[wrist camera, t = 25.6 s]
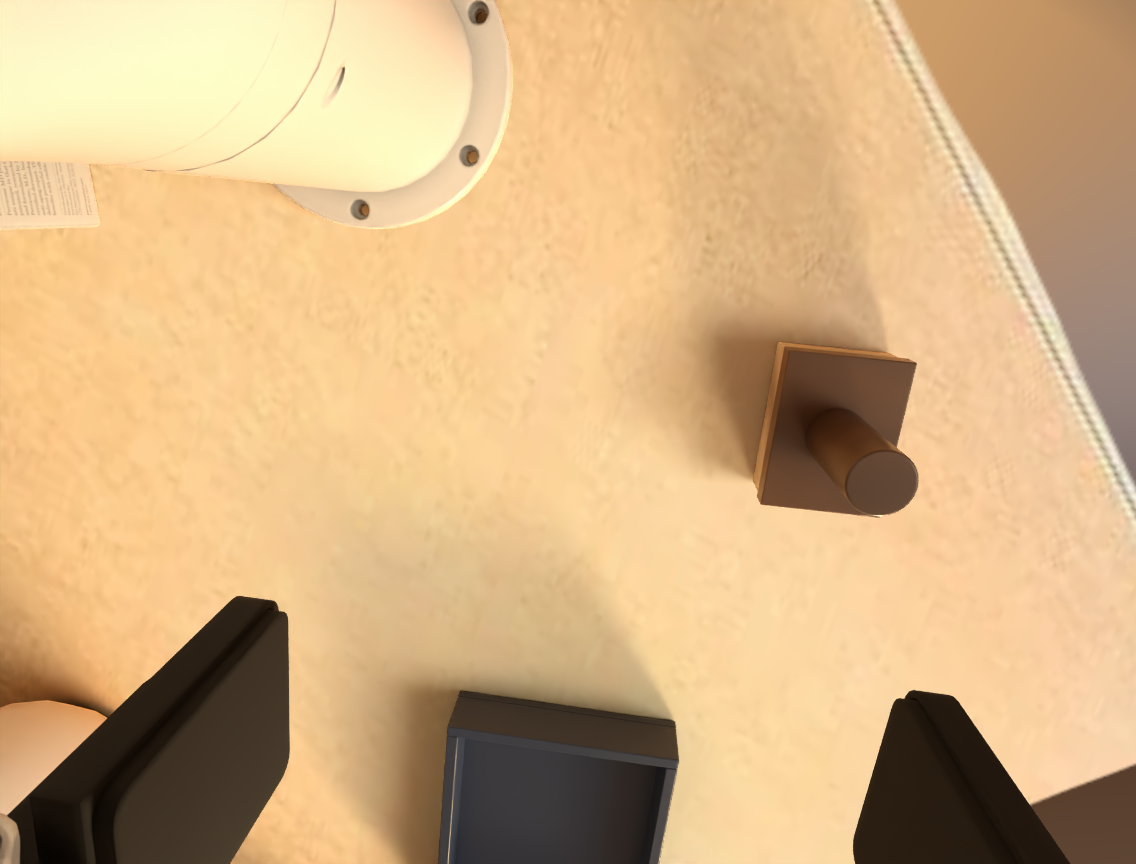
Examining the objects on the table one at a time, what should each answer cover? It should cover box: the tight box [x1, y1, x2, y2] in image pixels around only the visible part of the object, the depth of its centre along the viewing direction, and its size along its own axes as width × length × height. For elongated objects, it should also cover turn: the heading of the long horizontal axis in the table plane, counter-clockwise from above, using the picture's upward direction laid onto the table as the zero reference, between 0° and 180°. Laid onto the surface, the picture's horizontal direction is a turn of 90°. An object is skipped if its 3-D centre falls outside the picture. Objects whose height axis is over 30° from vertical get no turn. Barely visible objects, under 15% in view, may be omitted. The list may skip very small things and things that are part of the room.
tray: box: [438, 691, 679, 864], centre depth 40 cm, size 16×12×3 cm
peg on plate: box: [753, 342, 918, 518], centre depth 30 cm, size 7×5×9 cm
